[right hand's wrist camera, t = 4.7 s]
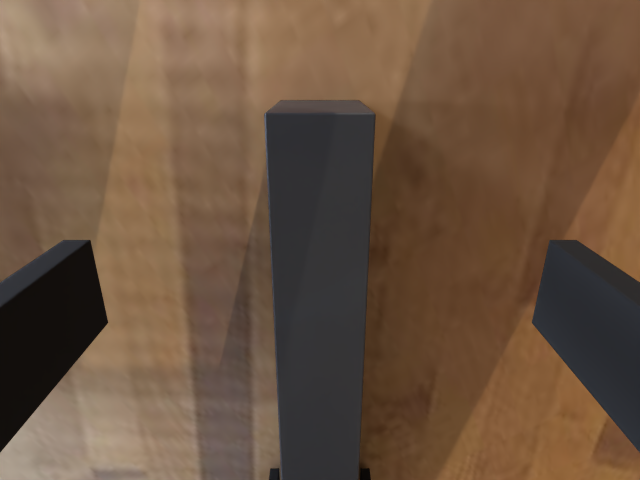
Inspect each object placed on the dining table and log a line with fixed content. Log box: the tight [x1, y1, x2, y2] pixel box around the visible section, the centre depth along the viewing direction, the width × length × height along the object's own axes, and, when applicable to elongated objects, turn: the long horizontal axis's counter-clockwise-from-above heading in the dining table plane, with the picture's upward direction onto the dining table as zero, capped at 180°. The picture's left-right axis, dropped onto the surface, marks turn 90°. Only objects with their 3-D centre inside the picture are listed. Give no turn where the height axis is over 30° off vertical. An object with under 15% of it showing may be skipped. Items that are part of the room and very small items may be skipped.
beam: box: [264, 100, 375, 480], centre depth 30 cm, size 36×5×8 cm, turn 0°
